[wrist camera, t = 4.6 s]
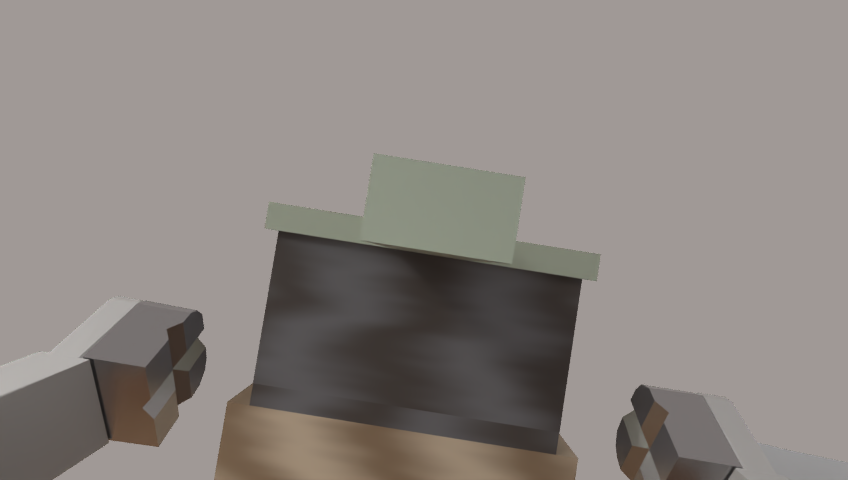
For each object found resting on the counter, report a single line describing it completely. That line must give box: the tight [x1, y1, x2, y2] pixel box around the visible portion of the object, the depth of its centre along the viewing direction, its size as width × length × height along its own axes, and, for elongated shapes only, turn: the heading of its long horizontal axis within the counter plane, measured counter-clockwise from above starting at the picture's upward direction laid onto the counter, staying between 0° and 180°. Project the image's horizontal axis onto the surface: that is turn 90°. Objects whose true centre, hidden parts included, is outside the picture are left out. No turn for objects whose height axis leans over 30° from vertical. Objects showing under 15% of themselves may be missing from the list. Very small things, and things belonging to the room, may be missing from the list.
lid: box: [265, 154, 600, 281], centre depth 24 cm, size 15×26×2 cm, turn 0°
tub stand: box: [214, 231, 582, 480], centre depth 29 cm, size 16×14×26 cm
